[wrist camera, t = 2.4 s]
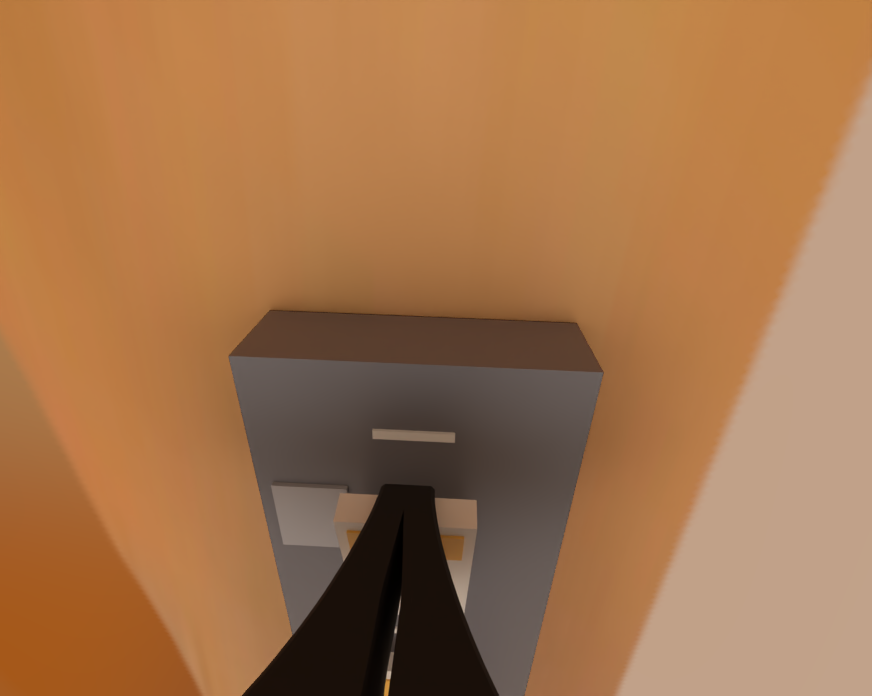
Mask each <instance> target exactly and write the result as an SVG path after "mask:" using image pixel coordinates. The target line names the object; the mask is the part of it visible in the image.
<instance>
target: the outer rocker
mask: <svg viewBox="0 0 872 696" xmlns="http://www.w3.org/2000/svg"><path fill="white" fill-rule="evenodd" d="M377 497H378V495H369V494H349V493H340V495H339V499H338V504H337V508H336V512H335V516H334V520H333V523H334V527H335V530H336V534H337V538H338V542H339V546H340V550H341V554H342V557H343V561H344V560H345V559H346V557H347V555H348V554H349V552H350V550H351V548H352V546H353V545H354V543H355V541H356V539H357V537H358V536H359V534H360V532H361V530H362V528H363V526H364V524H365V522H366V520H367V519H368V517H369V515H370V512H371V510H372V508H373V506H374V504H375V501H376V499H377ZM435 507H436V514H437V521H438V526H439V531H440V536H441V540H442V545H443V548H444V552H445V556H446V560H447V563H448V567H449V570H450V574H451V577H452V580H453V583H454V586H455V589H456V592H457V595H458V598H459V601H460V604H461V607H462V610H463V612H465V606H466V599H467V593H468V586H469V580H470V573H471V567H472V560H473V554H474V547H475V541H476V534H477V500H466V499H447V498H435ZM400 603H401V599H400ZM399 611H400V604H399V610H398V615H399Z"/></svg>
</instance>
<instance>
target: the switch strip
mask: <svg viewBox="0 0 872 696" xmlns="http://www.w3.org/2000/svg"><path fill="white" fill-rule="evenodd" d="M229 360H230V365H231V369H232V374H233V378H234V382H235V387H236V391H237V395H238V400H239V404H240V408H241V413H242V417H243V421H244V426H245V430H246V434H247V439H248V443H249V447H250V452H251V456H252V460H253V465H254V469H255V473H256V478H257V482H258V486H259V491H260V495H261V499H262V504H263V508H264V513H265V517H266V521H267V526H268V530H269V534H270V539H271V543H272V547H273V552H274V556H275V560H276V565H277V569H278V573H279V578H280V582H281V586H282V591H283V595H284V599H285V604H286V608H287V612H288V617H289V621H290V625H291V630H292V634H294V633H295V632H296V630H297V629H298V628H299V627H300V625H301V624H302V622H303V621H304V620H305V618H306V617H307V616H308V614H309V613H310V612H311V610H312V609H313V607H314V606H315V605H316V603H317V602H318V600H319V599H320V597H321V596H322V594H323V593H324V592H325V590H326V589H327V587H328V586H329V584H330V582H331V581H332V579H333V578H334V576H335V574H336V573H337V571H338V570H339V568H340V567H341V565H342V563H343V562H344V561H343V557H342V554H341V550H340V546H339V542H338V538H337V534H336V530H335V527H334V523H333V520H334V516H335V512H336V508H337V504H338V499H339V495H340V493H349V494H369V495H378V494H379V491H380V489H381V486H383V485H384V484H402V485H421V486H431V487H433V488H434V489H435V498H447V499H466V500H477V534H476V541H475V547H474V554H473V560H472V567H471V573H470V580H469V586H468V593H467V599H466V606H465V612H464V615H465V618H466V620H467V623H468V625H469V628H470V631H471V633H472V636H473V638H474V641H475V643H476V645H477V648H478V650H479V652H480V655H481V657H482V659H483V662H484V664H485V666H486V668H487V671H488V673H489V675H490V677H491V679H492V681H493V683H494V685H495V687H496V690H497V692H498V694H499V696H524V695H525V691H526V687H527V683H528V679H529V675H530V670H531V666H532V662H533V658H534V654H535V650H536V646H537V642H538V638H539V634H540V630H541V626H542V622H543V617H544V613H545V609H546V605H547V601H548V597H549V593H550V589H551V585H552V581H553V577H554V573H555V569H556V564H557V560H558V556H559V552H560V548H561V544H562V540H563V536H564V532H565V528H566V524H567V520H568V516H569V511H570V507H571V503H572V499H573V495H574V491H575V487H576V483H577V479H578V475H579V471H580V467H581V463H582V458H583V454H584V450H585V446H586V442H587V438H588V434H589V430H590V426H591V422H592V418H593V414H594V410H595V405H596V401H597V397H598V393H599V389H600V385H601V381H602V377H603V373H604V372H603V370H602V369H601V367H600V365H599V363H598V361H597V359H596V358H595V356H594V354H593V352H592V350H591V348H590V347H589V345H588V343H587V341H586V339H585V337H584V336H583V334H582V332H581V330H580V328H579V326H578V325H577V323H560V322H536V321H512V320H488V319H464V318H440V317H416V316H391V315H367V314H343V313H319V312H295V311H271V310H270V311H269V312H268V313H267V314H266V315H265V316H264V317H263V318H262V320H261V321H260V322H259V323H258V324H257V325H256V326H255V327H254V328H253V329H252V331H251V332H250V333H249V334H248V335H247V336H246V337H245V338H244V339H243V340H242V342H241V343H240V344H239V345H238V346H237V347H236V348H235V349H234V350H233V351H232V353H231V354H230V355H229ZM398 619H399V615H397V620H396V626H395V631H394V637H393V642H392V647H391V652H394V649H395V641H396V634H397V626H398Z"/></svg>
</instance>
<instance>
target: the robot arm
mask: <svg viewBox="0 0 872 696" xmlns="http://www.w3.org/2000/svg"><path fill="white" fill-rule="evenodd" d="M400 599H401V603H400ZM399 604H400V611H399V619H398V626H397V634H396V641H395V649H394V656H393V663H392V670H391V678H390V685H389V692H388V696H499V694H498V692H497V690H496V687H495V685H494V683H493V681H492V679H491V677H490V675H489V673H488V671H487V668H486V666H485V664H484V662H483V659H482V657H481V655H480V652H479V650H478V648H477V645H476V643H475V641H474V638H473V636H472V633H471V631H470V628H469V625H468V623H467V620H466V618H465V615H464V612H463V610H462V607H461V604H460V601H459V598H458V595H457V592H456V589H455V586H454V583H453V580H452V577H451V574H450V570H449V567H448V563H447V560H446V556H445V552H444V548H443V545H442V540H441V536H440V531H439V526H438V521H437V514H436V507H435V489H434V488H433V487H431V486H421V485H402V484H384V485H383V486H381V489H380V491H379V494H378V497H377V499H376V501H375V504H374V506H373V508H372V510H371V512H370V515H369V517H368V519H367V520H366V522H365V524H364V526H363V528H362V530H361V532H360V534H359V536H358V537H357V539H356V541H355V543H354V545H353V546H352V548H351V550H350V552H349V554H348V555H347V557H346V559H345V560H344V562H343V563H342V565H341V567H340V568H339V570H338V571H337V573H336V574H335V576H334V578H333V579H332V581H331V582H330V584H329V586H328V587H327V589H326V590H325V592H324V593H323V594H322V596H321V597H320V599H319V600H318V602H317V603H316V605H315V606H314V607H313V609H312V610H311V612H310V613H309V614H308V616H307V617H306V618H305V620H304V621H303V622H302V624H301V625H300V627H299V628H298V629H297V630H296V632H295V633H294V634H293V635H292V637H291V638H290V639H289V641H288V642H287V643H286V644H285V646H284V647H283V648H282V649H281V651H280V652H279V653H278V654H277V656H276V657H275V658H274V659H273V661H272V662H271V663H270V664H269V665H268V667H267V668H266V669H265V670H264V671H263V672H262V674H261V675H260V676H259V677H258V678H257V679H256V680H255V681H254V683H253V684H252V685H251V686H250V687H249V688H248V689H247V690H246V692H245V693H244V694H243V695H242V696H384V690H385V683H386V676H387V670H388V664H389V658H390V653H391V647H392V642H393V637H394V631H395V626H396V620H397V615H398V610H399Z"/></svg>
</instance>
